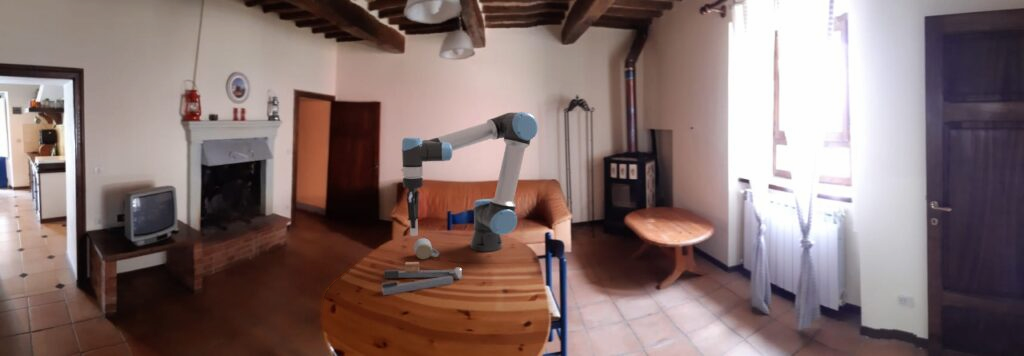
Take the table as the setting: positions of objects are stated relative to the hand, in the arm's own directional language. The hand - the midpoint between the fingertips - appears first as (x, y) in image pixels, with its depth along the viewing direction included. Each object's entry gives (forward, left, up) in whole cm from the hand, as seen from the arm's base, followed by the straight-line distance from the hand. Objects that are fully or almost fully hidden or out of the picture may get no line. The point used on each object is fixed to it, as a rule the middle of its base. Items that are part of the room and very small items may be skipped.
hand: (413, 235), depth 162 cm
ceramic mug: (-8, -14, -15) cm, 21 cm away
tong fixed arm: (+2, +18, -14) cm, 23 cm away
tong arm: (-1, +10, -14) cm, 17 cm away
